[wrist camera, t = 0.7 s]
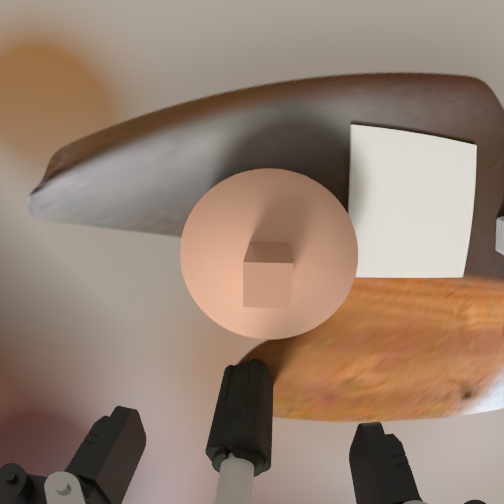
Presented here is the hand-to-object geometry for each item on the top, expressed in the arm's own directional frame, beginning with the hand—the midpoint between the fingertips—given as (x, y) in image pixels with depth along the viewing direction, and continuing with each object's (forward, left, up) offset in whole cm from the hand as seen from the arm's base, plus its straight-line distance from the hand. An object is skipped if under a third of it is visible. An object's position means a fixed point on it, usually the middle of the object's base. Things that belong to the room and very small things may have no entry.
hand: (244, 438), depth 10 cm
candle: (+2, +15, -23) cm, 27 cm away
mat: (-15, -6, -22) cm, 28 cm away
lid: (0, -2, -16) cm, 16 cm away
